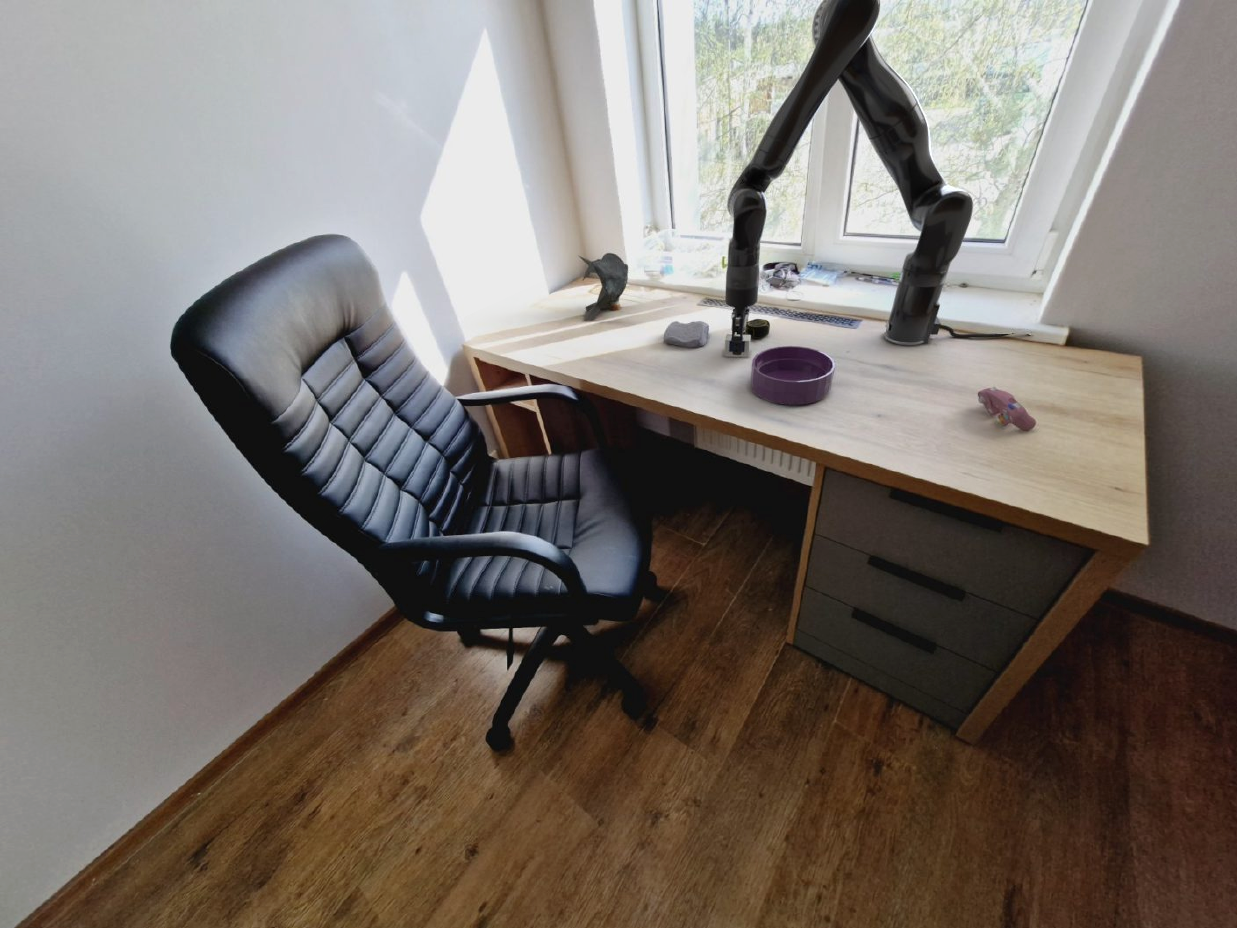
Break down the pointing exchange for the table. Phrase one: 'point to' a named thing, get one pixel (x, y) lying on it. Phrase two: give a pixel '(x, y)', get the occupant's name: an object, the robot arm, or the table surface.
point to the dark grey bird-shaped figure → (607, 283)
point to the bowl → (792, 375)
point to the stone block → (687, 334)
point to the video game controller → (1006, 408)
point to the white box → (744, 346)
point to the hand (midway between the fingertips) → (738, 347)
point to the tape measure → (757, 328)
